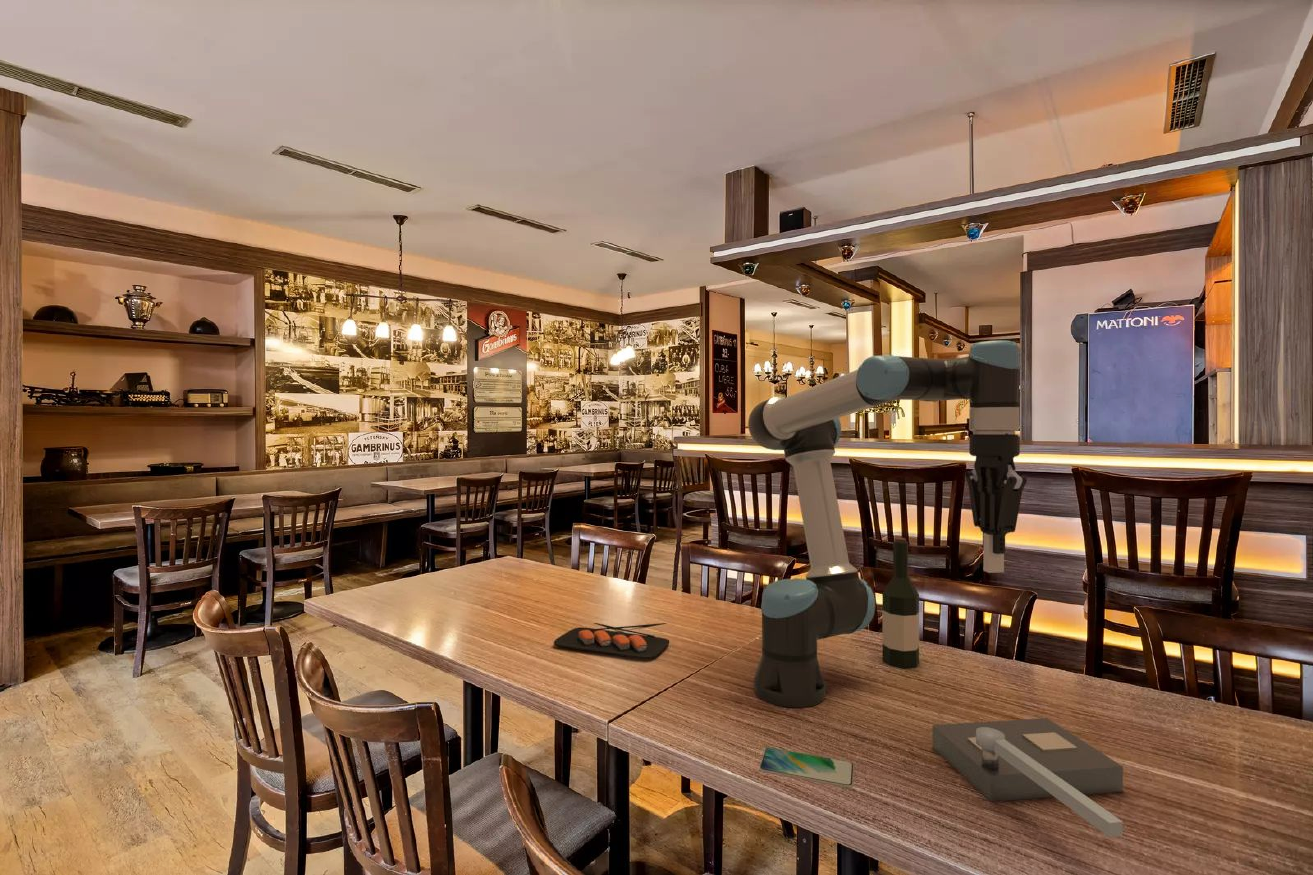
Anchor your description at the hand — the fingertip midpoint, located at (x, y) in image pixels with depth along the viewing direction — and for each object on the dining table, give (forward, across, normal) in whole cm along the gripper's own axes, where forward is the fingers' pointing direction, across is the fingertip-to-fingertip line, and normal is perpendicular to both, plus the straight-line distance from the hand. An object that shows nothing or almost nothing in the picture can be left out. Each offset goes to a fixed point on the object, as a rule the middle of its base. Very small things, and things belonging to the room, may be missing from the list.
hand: (993, 571), depth 105 cm
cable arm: (+25, -18, +5) cm, 32 cm away
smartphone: (+33, +1, +32) cm, 46 cm away
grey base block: (+32, -3, -3) cm, 33 cm away
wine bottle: (+33, +43, -6) cm, 54 cm away
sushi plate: (+33, +69, +60) cm, 97 cm away
